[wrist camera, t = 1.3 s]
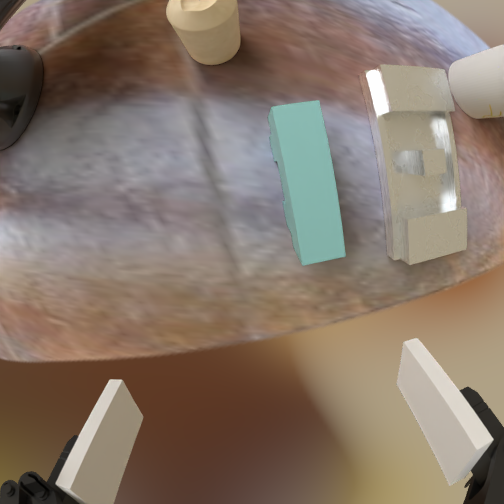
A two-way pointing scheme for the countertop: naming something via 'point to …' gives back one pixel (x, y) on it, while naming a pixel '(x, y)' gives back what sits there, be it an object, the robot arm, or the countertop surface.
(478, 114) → the cup
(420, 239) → the white block holder tray
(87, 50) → the countertop surface
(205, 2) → the candle
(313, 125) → the teal notched block
